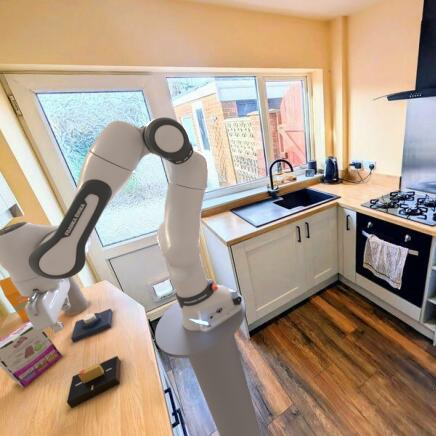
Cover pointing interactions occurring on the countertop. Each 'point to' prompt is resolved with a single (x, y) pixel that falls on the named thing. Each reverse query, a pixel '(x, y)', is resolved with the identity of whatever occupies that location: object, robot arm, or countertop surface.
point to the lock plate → (95, 383)
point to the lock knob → (91, 373)
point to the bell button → (89, 318)
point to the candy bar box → (27, 354)
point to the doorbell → (92, 326)
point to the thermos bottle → (75, 298)
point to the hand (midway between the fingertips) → (63, 318)
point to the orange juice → (14, 297)
